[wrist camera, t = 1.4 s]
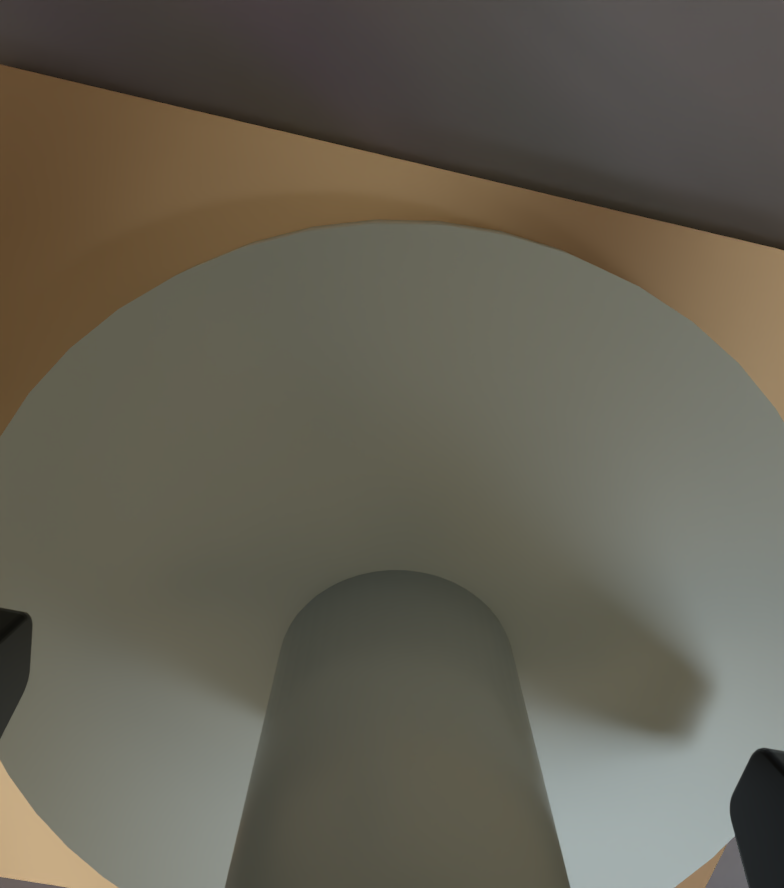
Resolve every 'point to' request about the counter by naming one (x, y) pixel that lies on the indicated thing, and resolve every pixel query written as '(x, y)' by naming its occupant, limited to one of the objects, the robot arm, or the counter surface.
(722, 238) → the mat
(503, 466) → the lid
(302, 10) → the counter surface
